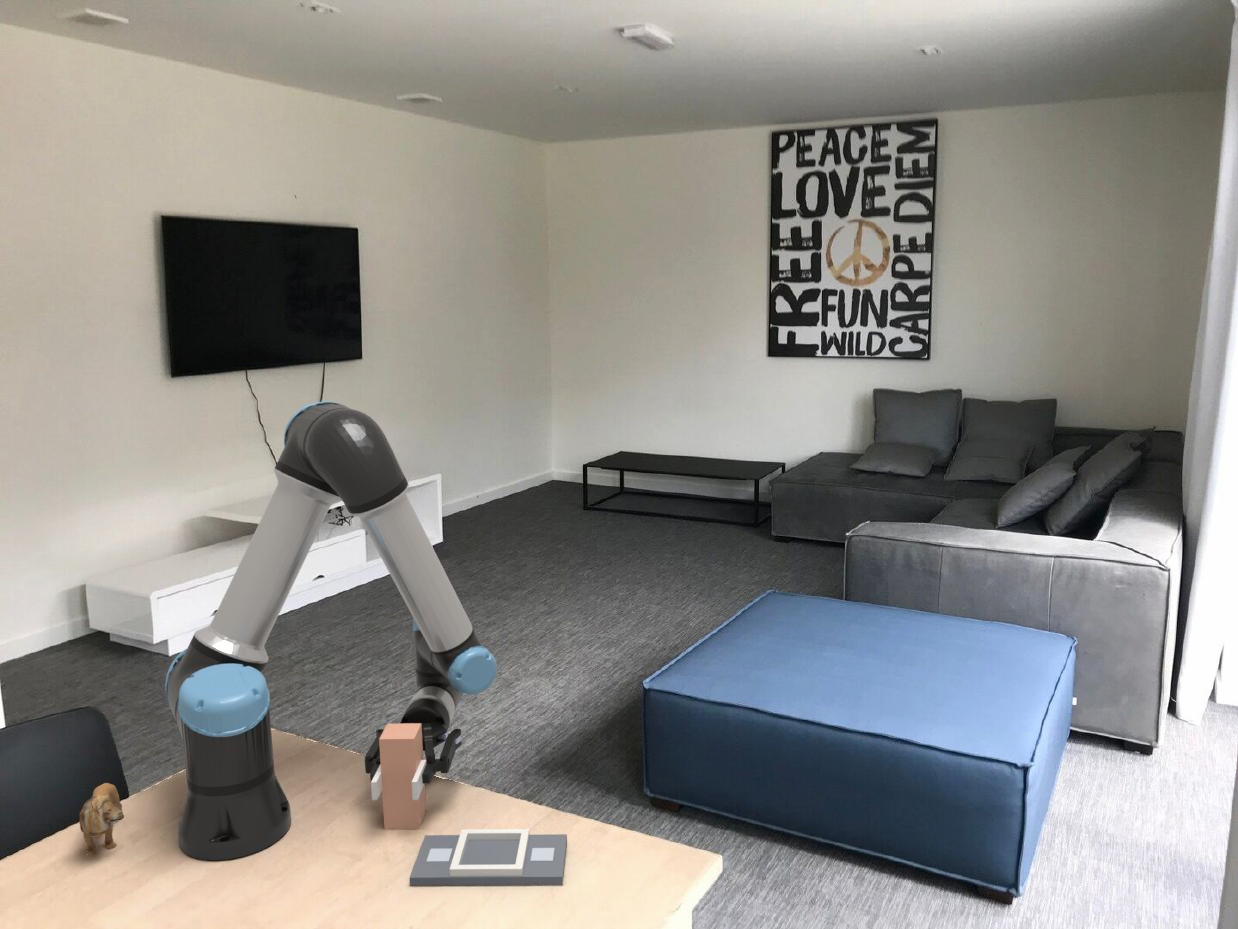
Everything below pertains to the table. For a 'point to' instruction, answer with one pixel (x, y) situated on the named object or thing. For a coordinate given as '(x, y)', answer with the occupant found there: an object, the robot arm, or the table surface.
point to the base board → (490, 859)
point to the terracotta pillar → (401, 775)
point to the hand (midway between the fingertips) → (394, 791)
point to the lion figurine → (100, 816)
